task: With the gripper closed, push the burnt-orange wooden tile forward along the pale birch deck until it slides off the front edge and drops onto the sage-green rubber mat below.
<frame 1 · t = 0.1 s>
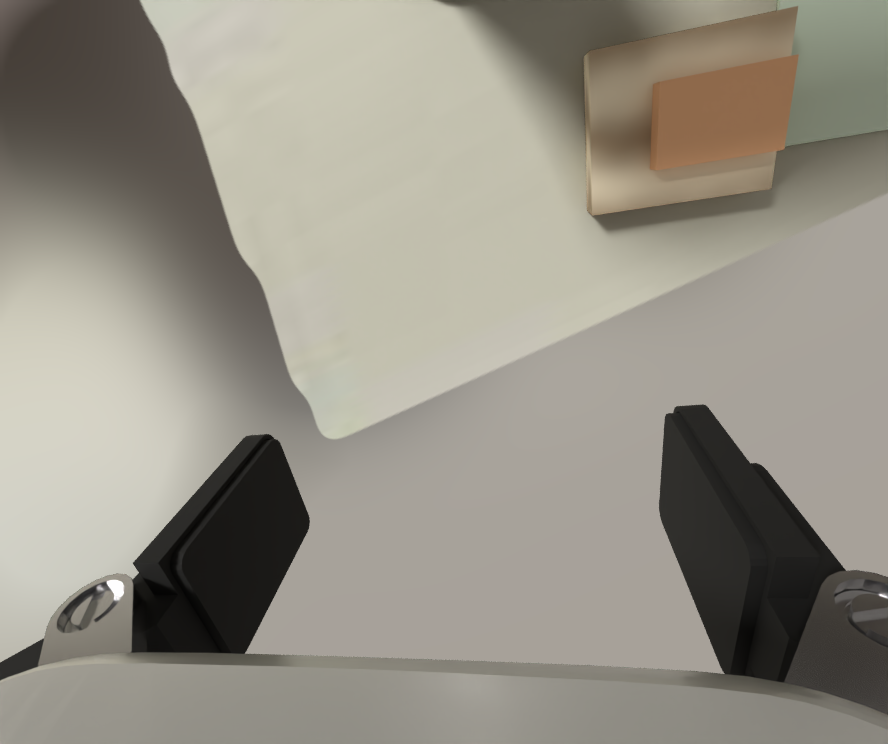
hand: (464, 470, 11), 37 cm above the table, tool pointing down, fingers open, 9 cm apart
mat: (860, 48, 34), on the table
deck: (671, 123, 38), on the table
tile: (713, 117, 35), point 3 cm above the table, touching deck
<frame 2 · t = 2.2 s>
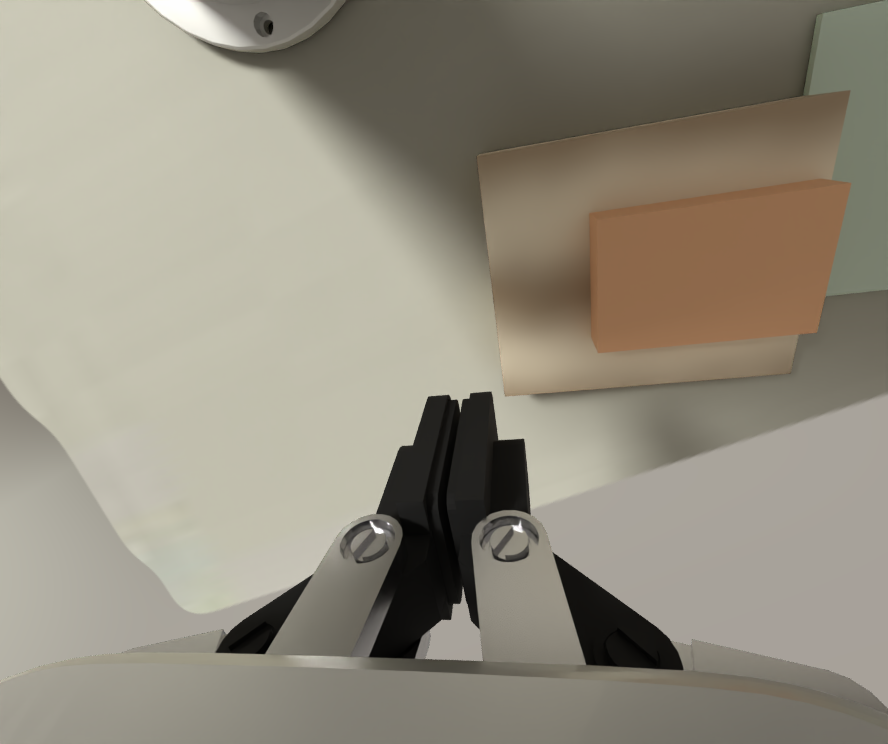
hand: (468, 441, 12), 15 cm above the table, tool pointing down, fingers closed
deck: (628, 256, 23), on the table
tile: (693, 266, 20), point 3 cm above the table, touching deck
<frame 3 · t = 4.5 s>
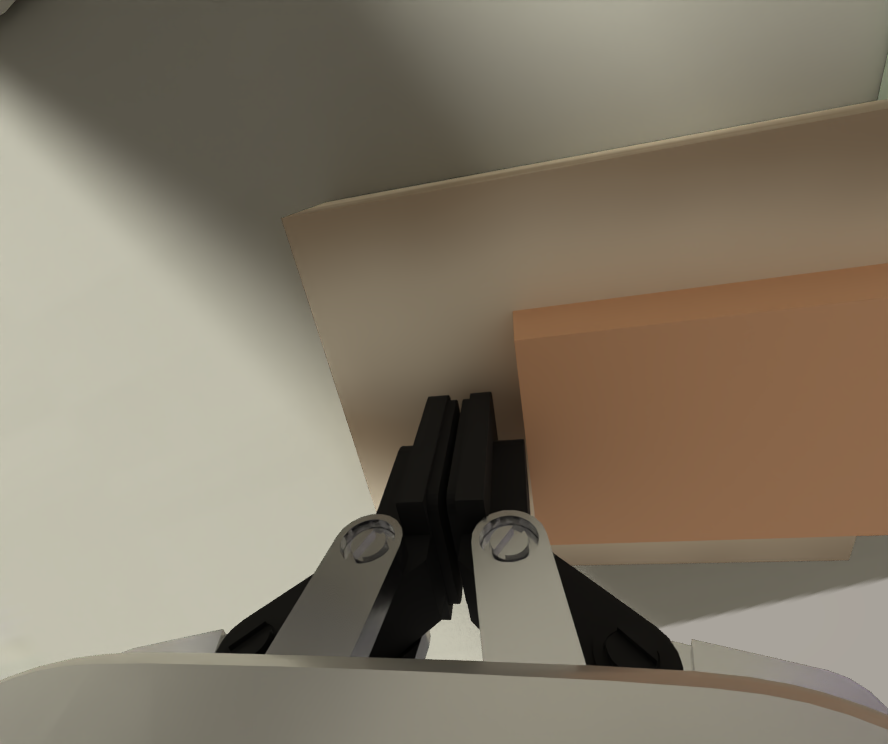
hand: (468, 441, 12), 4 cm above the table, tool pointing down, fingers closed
deck: (580, 359, 14), on the table
tile: (703, 399, 11), point 3 cm above the table, touching deck, gripper
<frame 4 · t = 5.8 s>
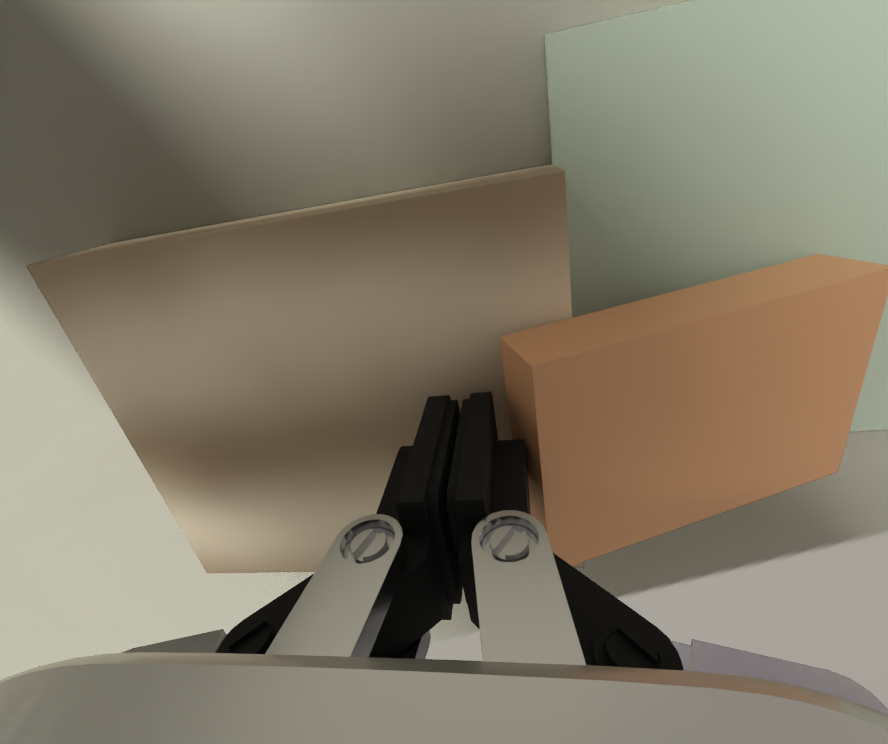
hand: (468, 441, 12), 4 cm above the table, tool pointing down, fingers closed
mat: (792, 249, 12), on the table
deck: (361, 383, 16), on the table
tile: (662, 396, 12), point 2 cm above the table, tilted 21°, touching gripper
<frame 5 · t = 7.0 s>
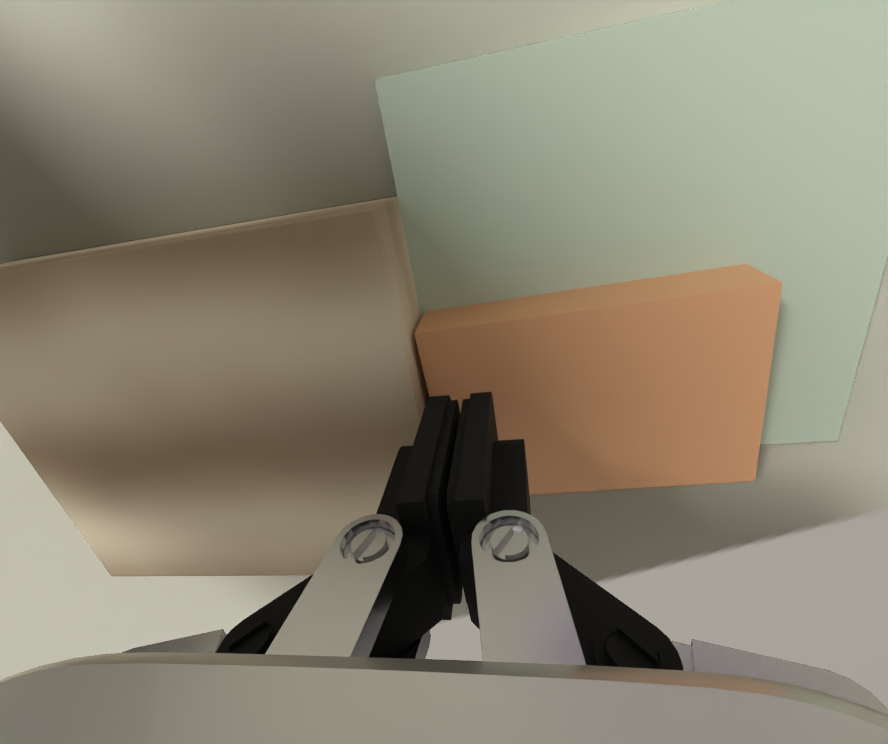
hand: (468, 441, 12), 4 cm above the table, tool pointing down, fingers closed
mat: (629, 277, 13), on the table
deck: (253, 396, 17), on the table
tile: (580, 379, 14), resting on mat
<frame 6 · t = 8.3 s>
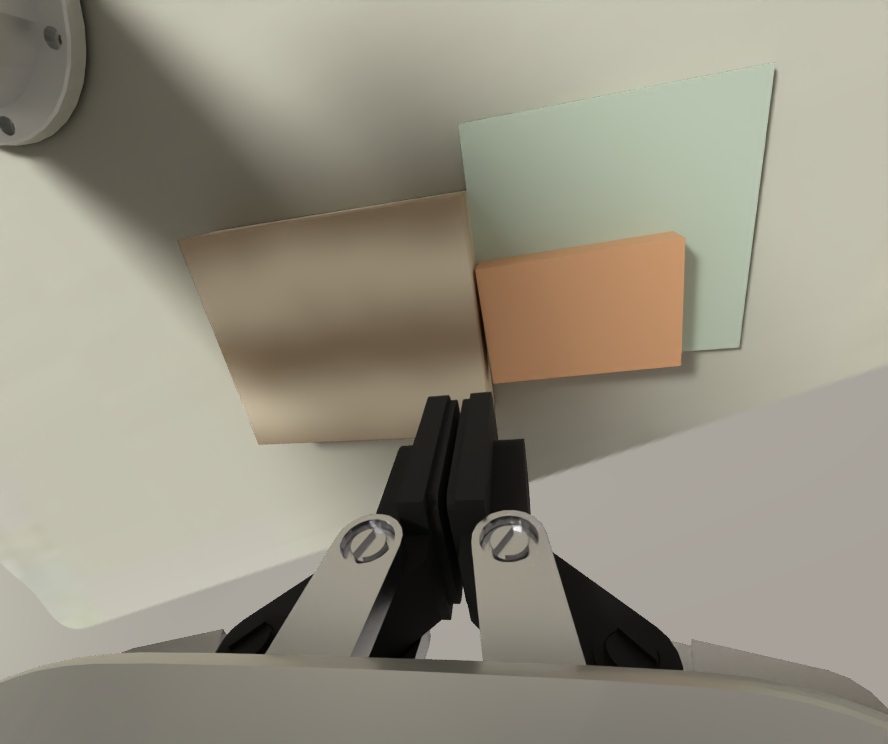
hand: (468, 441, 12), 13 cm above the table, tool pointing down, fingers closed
mat: (604, 240, 21), on the table
deck: (360, 322, 25), on the table
tile: (575, 306, 23), resting on mat
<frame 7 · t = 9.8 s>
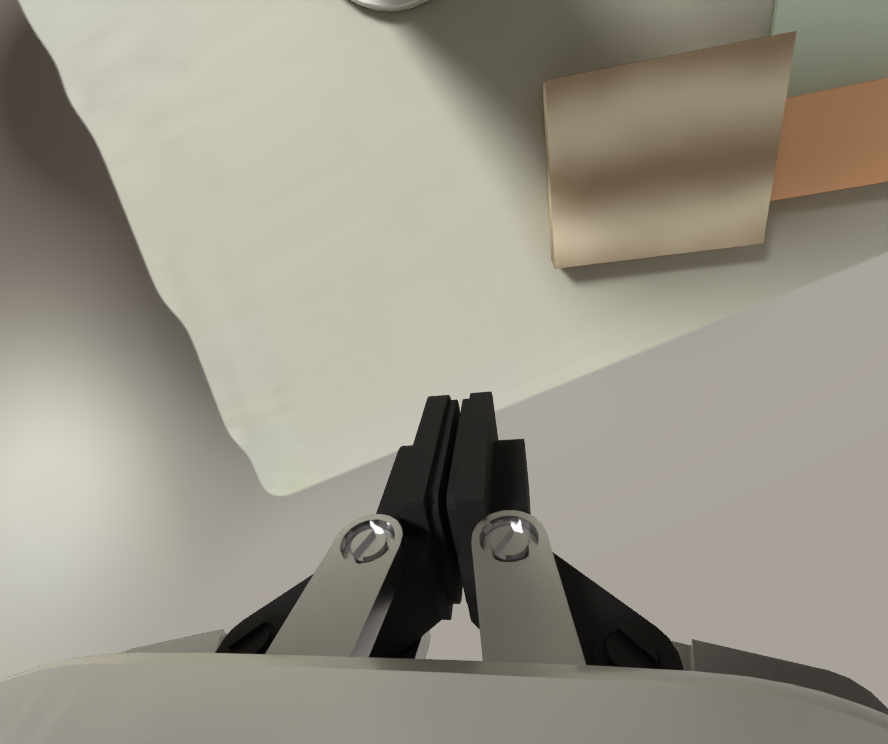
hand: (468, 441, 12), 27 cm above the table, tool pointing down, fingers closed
mat: (870, 80, 28), on the table
deck: (647, 163, 32), on the table
tile: (836, 138, 30), resting on mat
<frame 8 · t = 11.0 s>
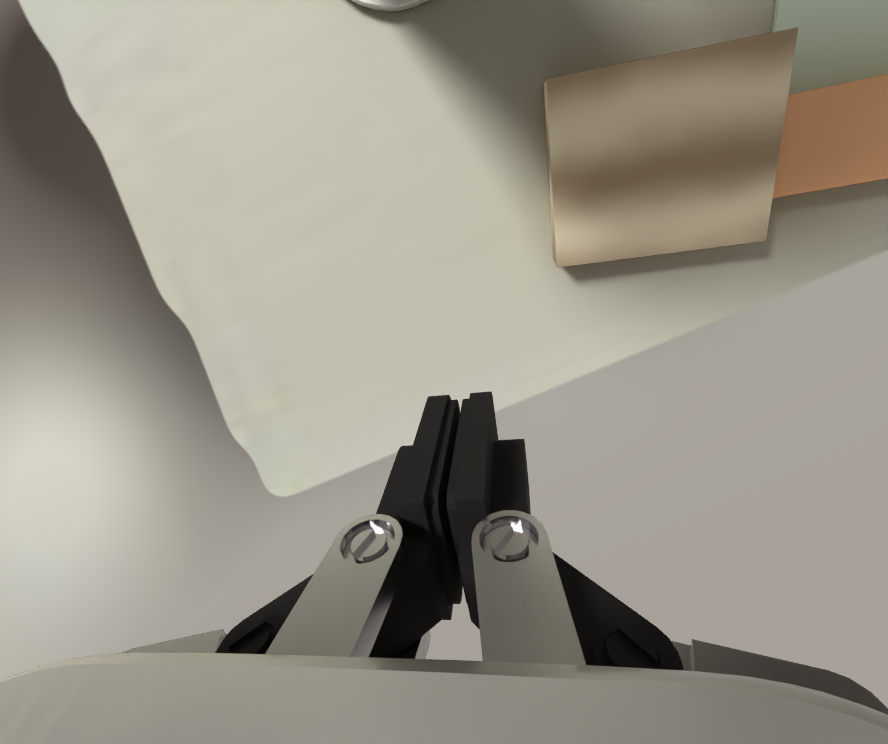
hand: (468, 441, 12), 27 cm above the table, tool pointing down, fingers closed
mat: (872, 76, 28), on the table
deck: (648, 161, 32), on the table
tile: (839, 134, 29), resting on mat
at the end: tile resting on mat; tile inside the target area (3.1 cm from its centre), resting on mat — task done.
